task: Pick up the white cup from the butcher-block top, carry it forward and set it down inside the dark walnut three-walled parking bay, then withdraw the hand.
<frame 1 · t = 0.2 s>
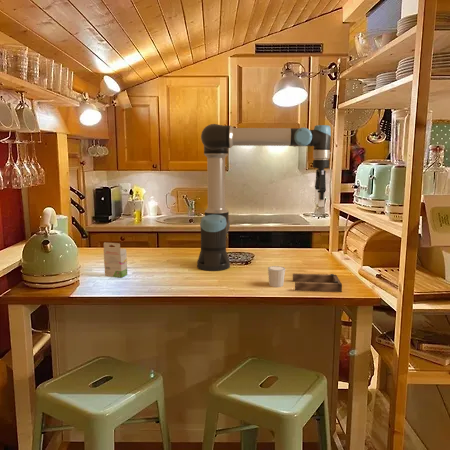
hand: (319, 204, 201), 28 cm above the table, fingers open, 13 cm apart
bay: (314, 285, 169), on the table
ink box: (116, 275, 182), on the table
white cup: (276, 285, 170), on the table
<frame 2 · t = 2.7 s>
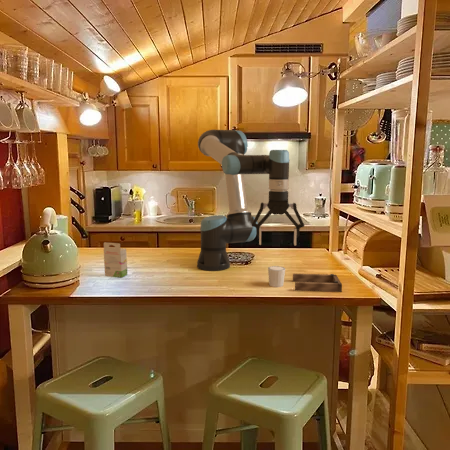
hand: (277, 244, 167), 17 cm above the table, fingers open, 13 cm apart
nothing on the table moved.
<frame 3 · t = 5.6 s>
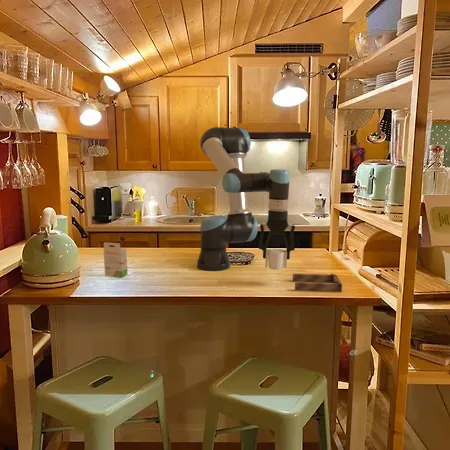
hand: (275, 266, 169), 7 cm above the table, fingers closed on white cup, 7 cm apart
white cup: (275, 267, 169), point 7 cm above the table, touching gripper
everything else where it was.
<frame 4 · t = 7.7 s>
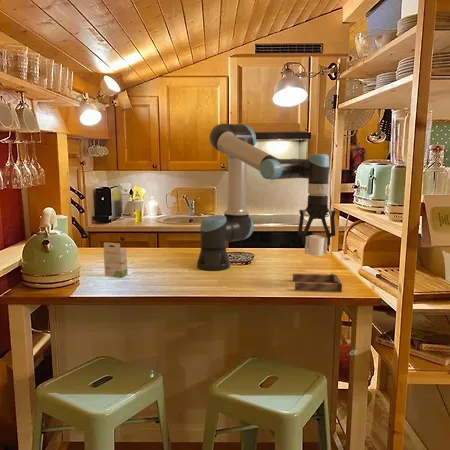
hand: (315, 253, 166), 13 cm above the table, fingers closed on white cup, 7 cm apart
white cup: (315, 254, 166), point 13 cm above the table, touching gripper
everything else where it was.
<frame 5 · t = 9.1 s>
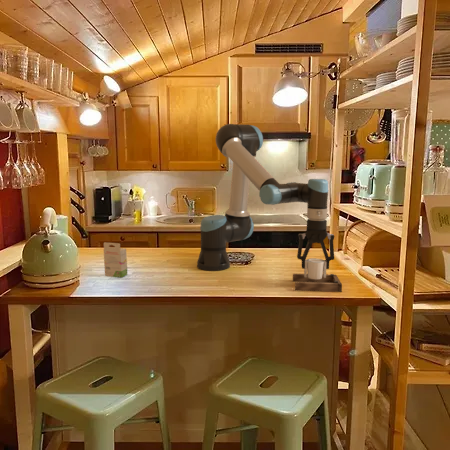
hand: (314, 276, 168), 4 cm above the table, fingers closed on white cup, 7 cm apart
white cup: (314, 277, 168), point 3 cm above the table, touching gripper
everything else where it was.
when the fingers open (0 cm above the table, at t = 10.2 s): white cup stays where it is, resting in bay.
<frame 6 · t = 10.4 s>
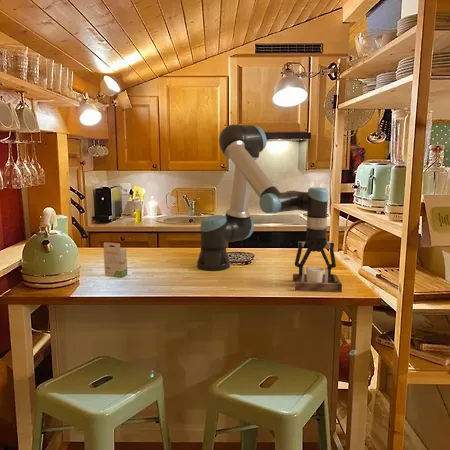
hand: (314, 283, 168), 1 cm above the table, fingers open, 8 cm apart
white cup: (314, 286, 169), resting in bay
everything else where it was.
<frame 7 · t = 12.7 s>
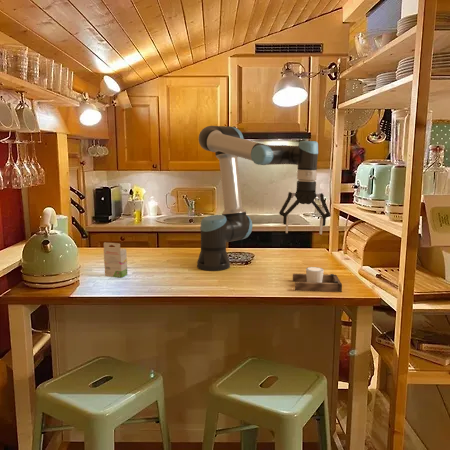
hand: (303, 233, 172), 20 cm above the table, fingers open, 13 cm apart
nothing on the table moved.
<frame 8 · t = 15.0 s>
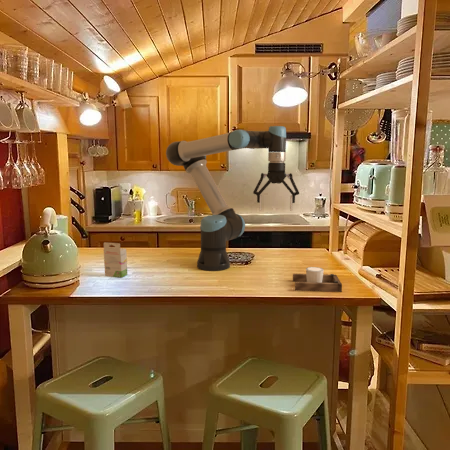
hand: (275, 210, 190), 27 cm above the table, fingers open, 13 cm apart
nothing on the table moved.
at the end: white cup inside the target area (0.5 cm from its centre), resting in bay; white cup tilted 0° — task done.
